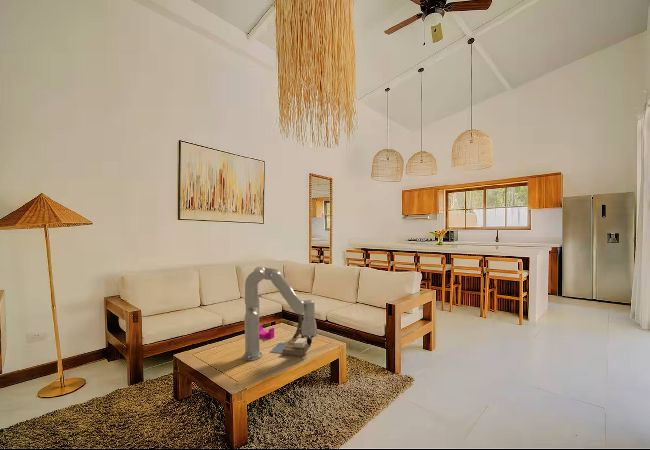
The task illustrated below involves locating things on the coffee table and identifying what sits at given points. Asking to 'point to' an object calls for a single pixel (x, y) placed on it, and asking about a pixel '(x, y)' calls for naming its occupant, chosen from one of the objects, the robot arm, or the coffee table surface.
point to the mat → (278, 348)
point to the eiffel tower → (299, 328)
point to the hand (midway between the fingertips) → (309, 344)
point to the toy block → (266, 333)
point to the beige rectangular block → (300, 342)
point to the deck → (295, 349)
